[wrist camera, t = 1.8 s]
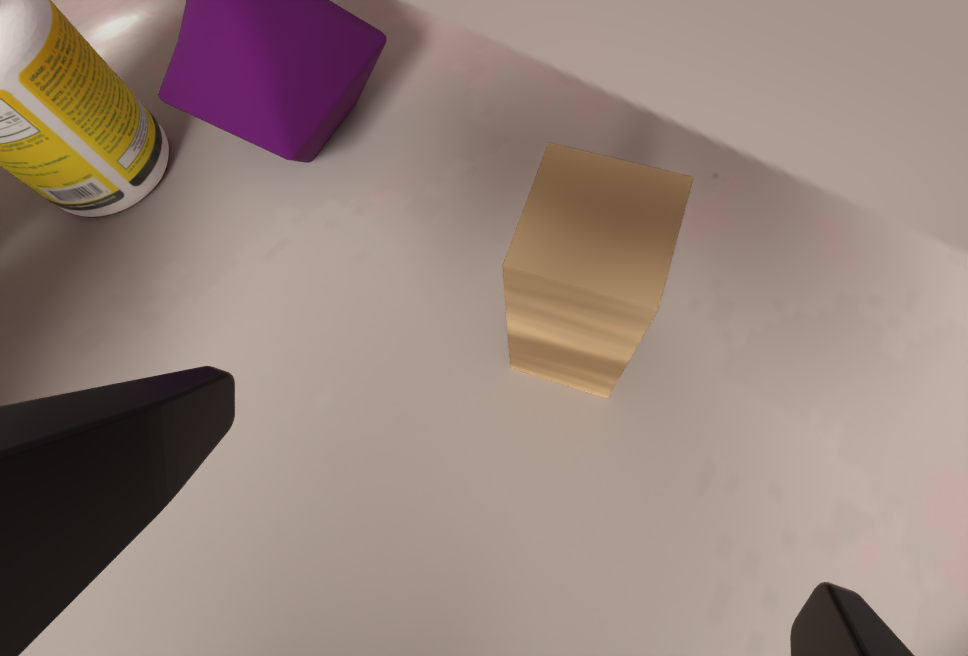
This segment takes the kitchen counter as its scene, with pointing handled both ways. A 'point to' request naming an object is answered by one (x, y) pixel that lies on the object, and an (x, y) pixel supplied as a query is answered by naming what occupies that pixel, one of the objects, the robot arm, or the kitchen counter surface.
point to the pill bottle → (71, 117)
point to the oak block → (589, 265)
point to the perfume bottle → (271, 70)
